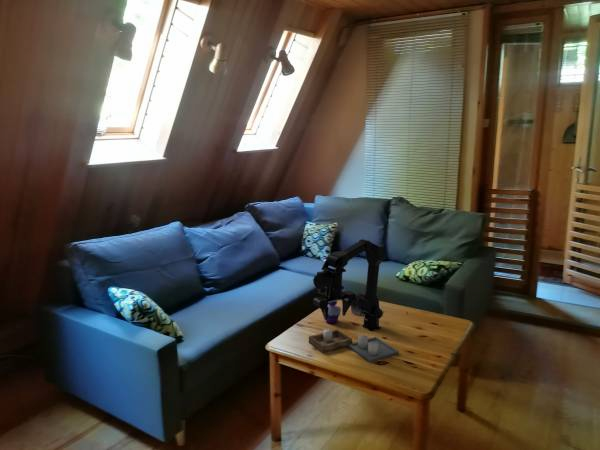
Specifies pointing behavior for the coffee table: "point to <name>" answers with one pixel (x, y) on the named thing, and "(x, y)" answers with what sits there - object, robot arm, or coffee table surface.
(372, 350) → the stone
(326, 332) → the stone
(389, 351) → the slate tray
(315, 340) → the walnut box
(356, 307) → the crystal cluster
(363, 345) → the stone
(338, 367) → the coffee table surface
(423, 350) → the coffee table surface
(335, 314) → the potion bottle
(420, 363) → the coffee table surface
